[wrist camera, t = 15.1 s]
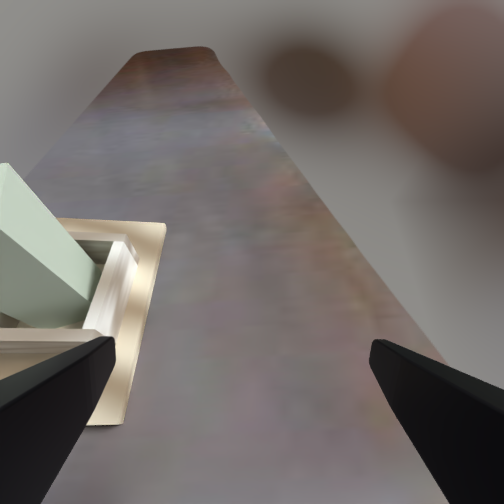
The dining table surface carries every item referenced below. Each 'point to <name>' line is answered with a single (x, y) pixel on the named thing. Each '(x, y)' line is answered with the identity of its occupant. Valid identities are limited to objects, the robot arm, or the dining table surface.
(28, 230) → the peg
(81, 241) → the holder
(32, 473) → the robot arm
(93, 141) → the dining table surface
